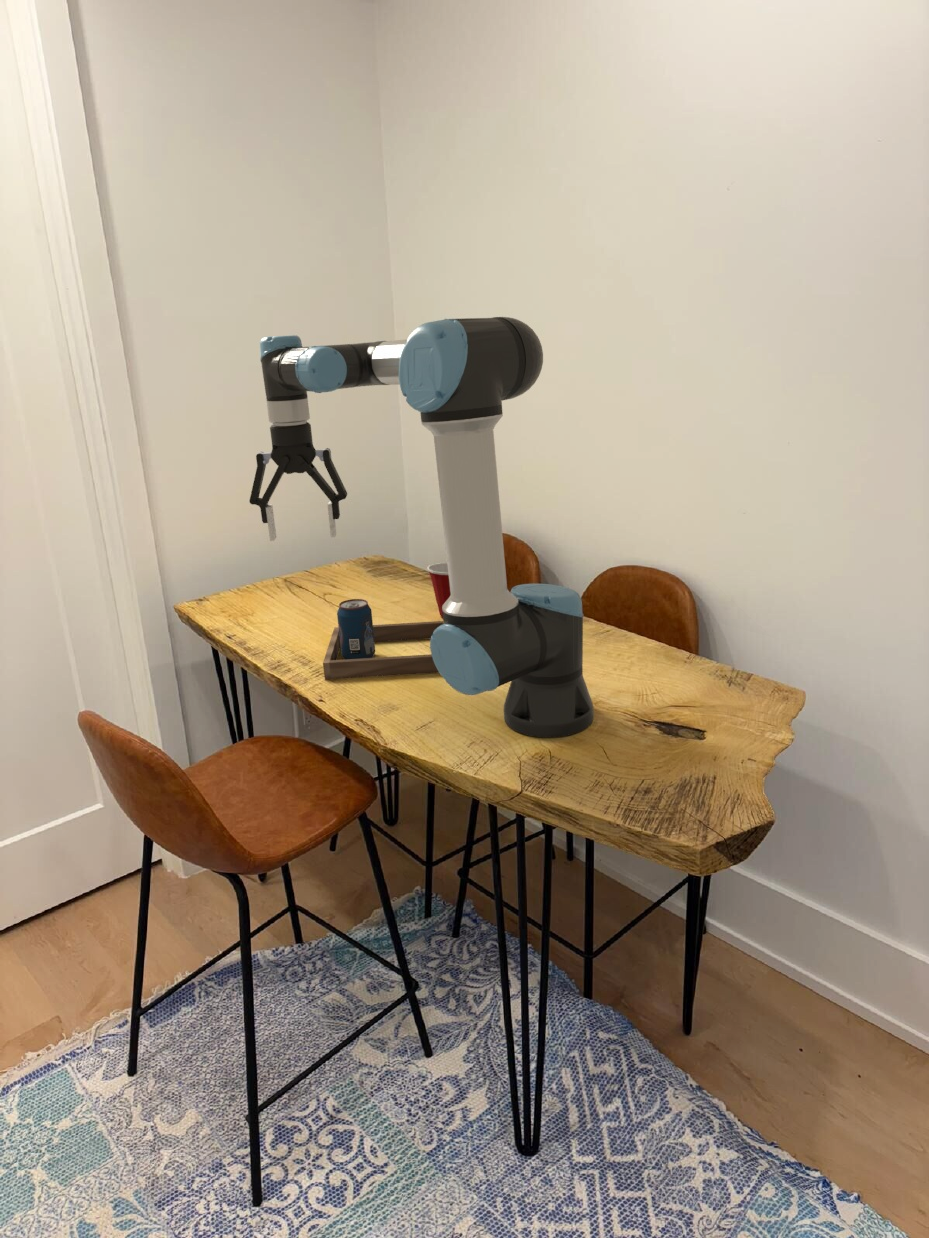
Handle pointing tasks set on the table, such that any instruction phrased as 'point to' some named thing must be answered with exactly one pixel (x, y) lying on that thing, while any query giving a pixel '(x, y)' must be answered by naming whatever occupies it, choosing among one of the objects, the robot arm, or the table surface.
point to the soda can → (356, 629)
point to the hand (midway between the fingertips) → (303, 537)
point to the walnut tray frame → (383, 664)
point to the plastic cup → (440, 583)
